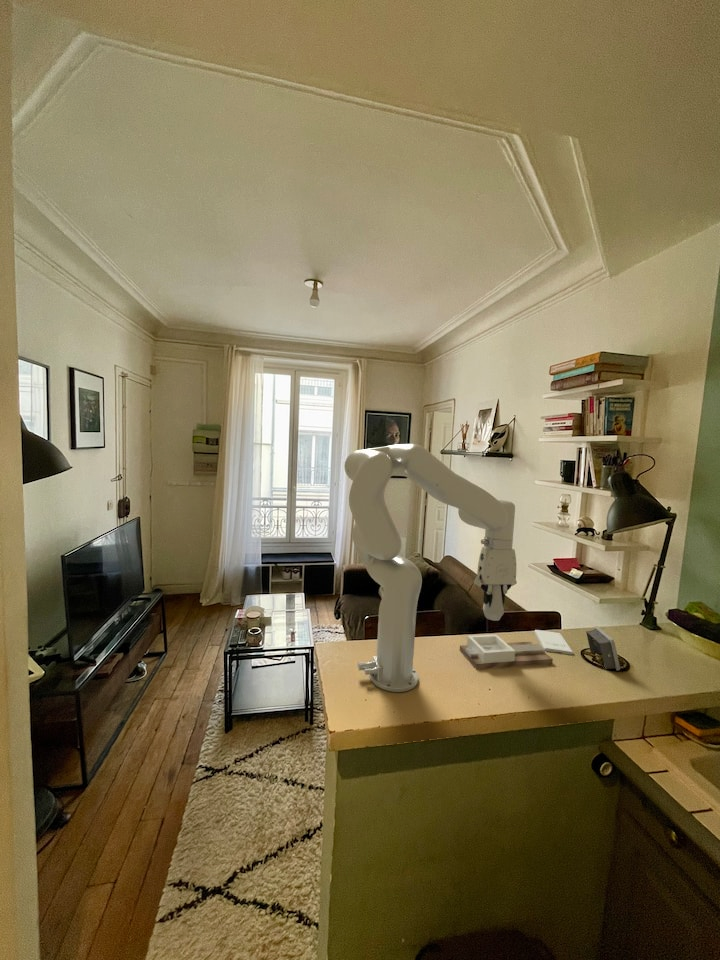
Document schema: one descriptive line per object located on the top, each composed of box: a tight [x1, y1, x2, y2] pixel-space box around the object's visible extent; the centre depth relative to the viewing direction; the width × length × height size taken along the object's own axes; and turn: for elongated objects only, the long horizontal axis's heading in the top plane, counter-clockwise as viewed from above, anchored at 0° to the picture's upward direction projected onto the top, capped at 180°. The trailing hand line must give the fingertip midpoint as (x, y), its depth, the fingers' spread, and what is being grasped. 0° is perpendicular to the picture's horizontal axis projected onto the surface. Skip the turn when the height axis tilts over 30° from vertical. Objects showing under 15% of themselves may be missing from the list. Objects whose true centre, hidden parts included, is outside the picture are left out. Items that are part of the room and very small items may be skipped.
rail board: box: [459, 641, 553, 670], centre depth 110 cm, size 24×10×2 cm, turn 101°
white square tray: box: [466, 634, 515, 663], centre depth 109 cm, size 10×10×3 cm
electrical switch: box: [585, 625, 621, 672], centre depth 109 cm, size 9×5×9 cm, turn 174°
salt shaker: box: [482, 585, 505, 621], centre depth 108 cm, size 6×6×13 cm
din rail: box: [465, 643, 546, 658], centre depth 110 cm, size 24×4×1 cm, turn 101°
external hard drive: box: [534, 629, 574, 656], centre depth 120 cm, size 2×8×12 cm
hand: (493, 605), depth 108 cm, fingers closed on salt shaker, 3 cm apart
